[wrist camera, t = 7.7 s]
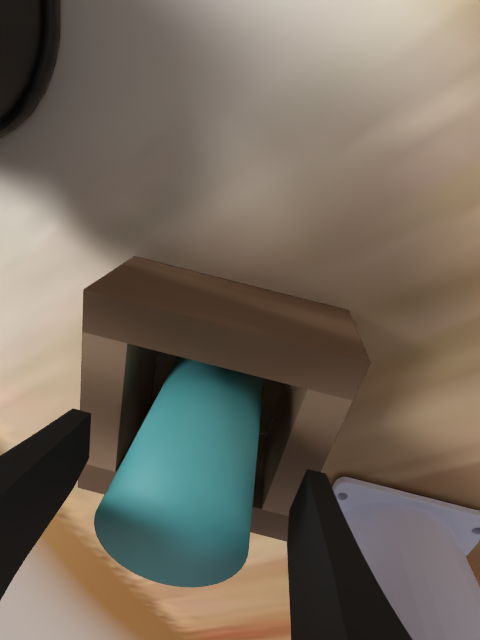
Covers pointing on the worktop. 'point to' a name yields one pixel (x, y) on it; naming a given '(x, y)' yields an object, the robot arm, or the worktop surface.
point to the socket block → (223, 351)
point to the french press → (26, 56)
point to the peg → (187, 480)
